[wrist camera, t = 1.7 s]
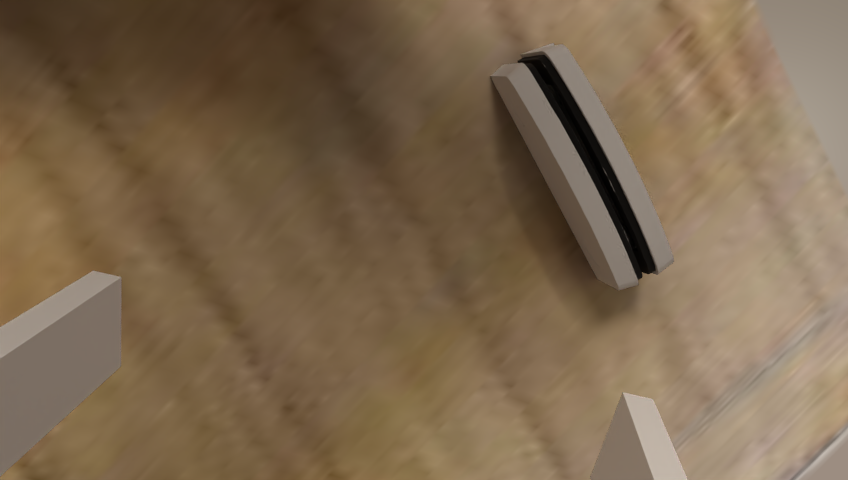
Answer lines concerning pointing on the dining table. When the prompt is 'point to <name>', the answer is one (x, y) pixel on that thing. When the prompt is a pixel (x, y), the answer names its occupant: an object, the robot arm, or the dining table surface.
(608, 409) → the dining table surface
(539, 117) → the grey curved grooved block
